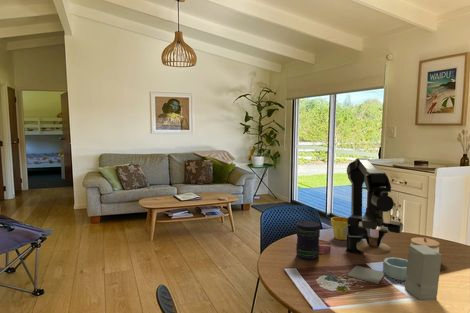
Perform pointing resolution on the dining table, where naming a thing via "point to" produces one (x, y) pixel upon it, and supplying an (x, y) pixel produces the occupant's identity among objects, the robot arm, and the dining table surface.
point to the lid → (373, 246)
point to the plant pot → (339, 227)
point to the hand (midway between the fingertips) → (373, 245)
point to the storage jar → (308, 240)
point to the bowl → (395, 268)
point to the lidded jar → (426, 243)
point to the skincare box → (423, 272)
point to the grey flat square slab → (366, 274)
